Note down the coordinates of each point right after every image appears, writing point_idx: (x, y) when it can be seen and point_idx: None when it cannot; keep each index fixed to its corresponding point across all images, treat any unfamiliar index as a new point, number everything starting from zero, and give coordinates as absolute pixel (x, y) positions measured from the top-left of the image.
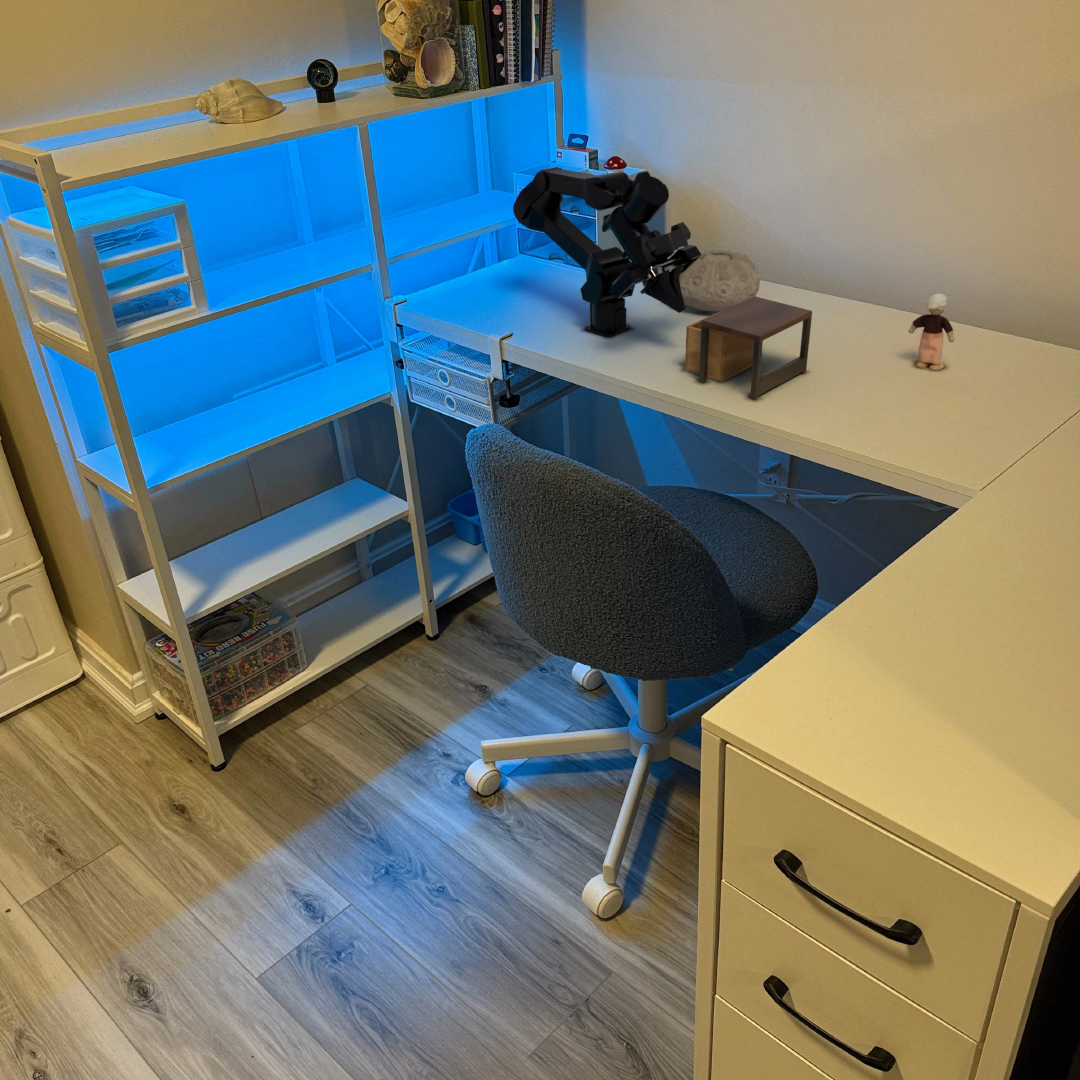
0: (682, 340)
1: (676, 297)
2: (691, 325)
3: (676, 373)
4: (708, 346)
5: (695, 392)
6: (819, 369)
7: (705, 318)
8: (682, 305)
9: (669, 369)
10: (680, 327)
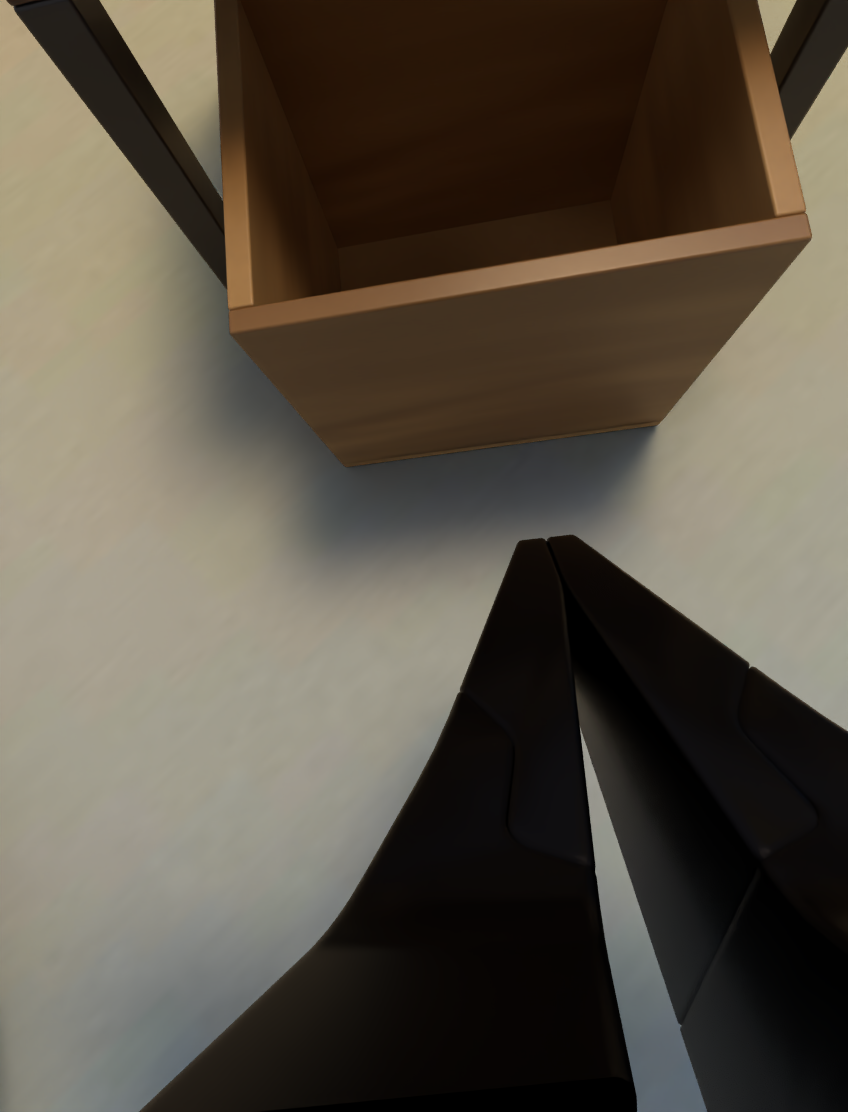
0: (344, 754)
1: (635, 619)
2: (754, 223)
3: (726, 424)
4: (789, 20)
5: (821, 186)
6: (184, 55)
7: (500, 279)
8: (553, 556)
9: (718, 490)
10: (195, 919)
